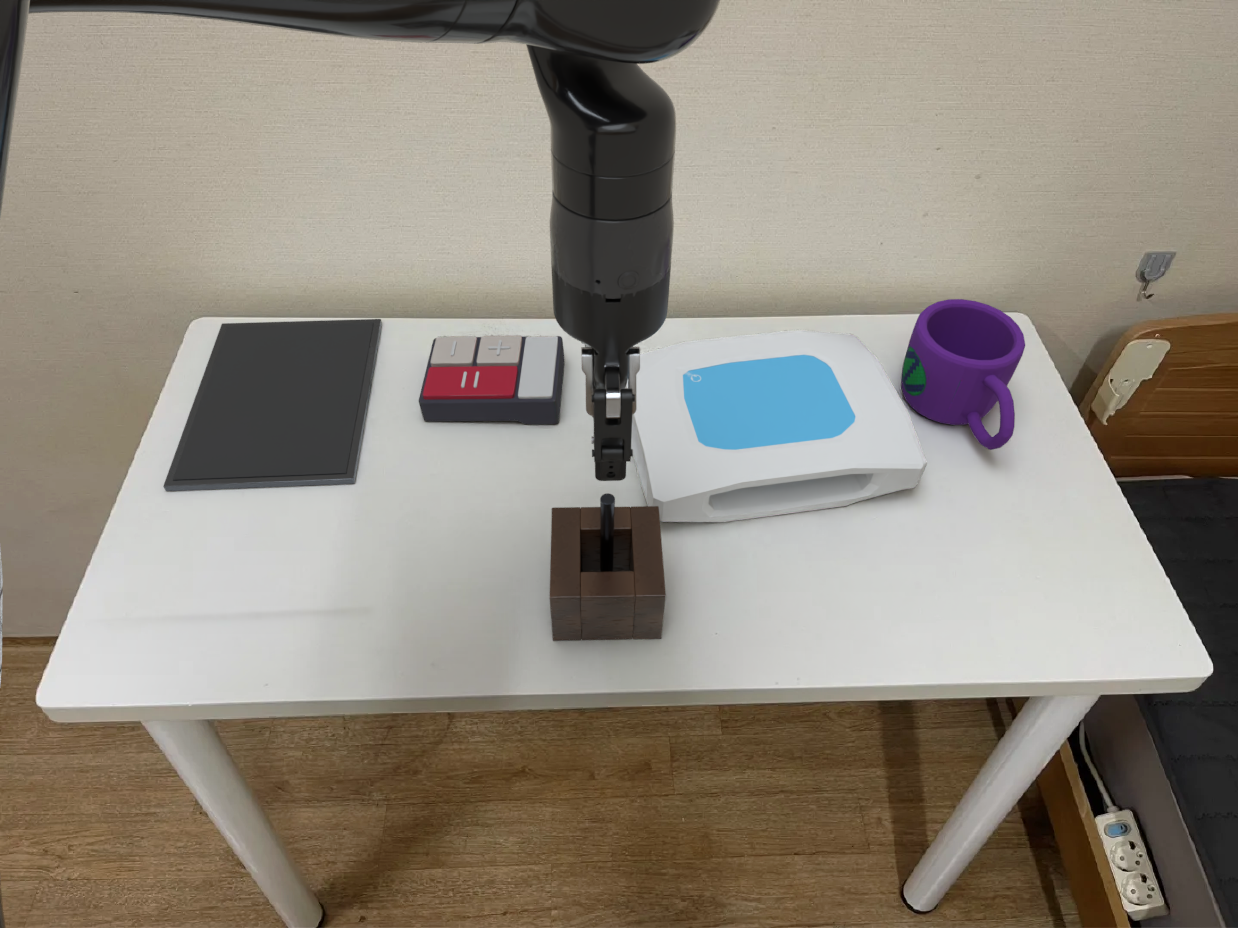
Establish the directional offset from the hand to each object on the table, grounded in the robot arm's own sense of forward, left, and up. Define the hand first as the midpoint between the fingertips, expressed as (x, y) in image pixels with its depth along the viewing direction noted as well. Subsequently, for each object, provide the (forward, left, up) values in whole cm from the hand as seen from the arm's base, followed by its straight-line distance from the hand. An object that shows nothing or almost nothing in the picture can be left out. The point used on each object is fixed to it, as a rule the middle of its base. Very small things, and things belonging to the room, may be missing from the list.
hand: (608, 435), depth 67 cm
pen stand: (0, 0, -22) cm, 22 cm away
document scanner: (+24, +10, -22) cm, 34 cm away
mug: (+46, +3, -22) cm, 51 cm away
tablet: (-20, +40, -22) cm, 49 cm away
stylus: (0, 0, -22) cm, 22 cm away
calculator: (+2, +30, -22) cm, 37 cm away
